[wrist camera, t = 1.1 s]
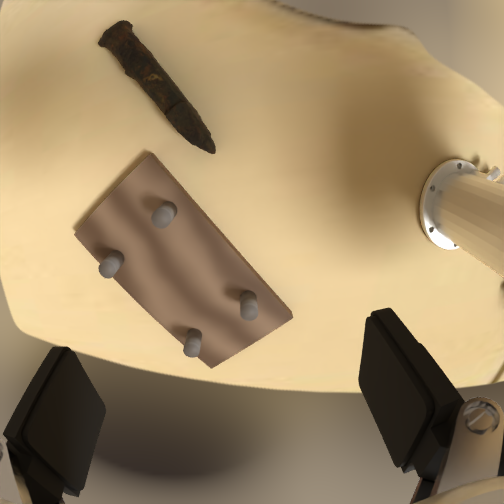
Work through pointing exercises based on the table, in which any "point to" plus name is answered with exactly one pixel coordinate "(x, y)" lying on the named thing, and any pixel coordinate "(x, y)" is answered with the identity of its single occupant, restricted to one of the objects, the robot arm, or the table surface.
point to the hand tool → (156, 84)
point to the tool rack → (180, 266)
